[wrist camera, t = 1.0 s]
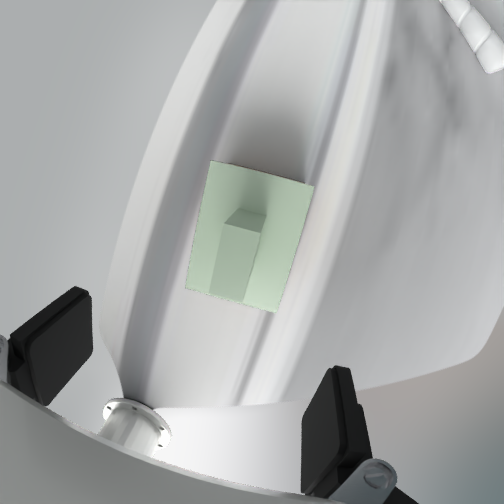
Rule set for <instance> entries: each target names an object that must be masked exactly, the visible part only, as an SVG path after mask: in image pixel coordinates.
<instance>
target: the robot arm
mask: <svg viewBox="0 0 504 504" xmlns="http://www.w3.org/2000/svg"><path fill="white" fill-rule="evenodd" d="M91 299H92V298H91V296H90V295H89V292H88V291H87V290H84V289H82V288H79V287H76V286H74V287H73V288H71V289H70V290H68V291H67V292H66V293H65V294H63V295H61V296H60V297H59V298H57V299H56V300H55V301H53V302H52V303H51V304H49V305H48V306H47V307H46V308H44V309H43V310H41V311H40V312H39V313H37V314H36V315H35V316H33V317H32V318H31V319H29V320H28V321H27V322H25V323H24V324H23V325H22V326H20V327H19V328H18V329H17V330H15V331H14V332H13V333H11V334H10V339H9V340H6V338H5V337H4V336H2V335H0V504H418V503H417V502H416V501H414V500H413V499H412V498H410V497H409V496H408V495H406V494H405V493H403V492H402V491H401V490H399V489H398V488H397V487H396V486H395V485H396V483H397V474H396V471H395V470H394V468H393V467H392V466H391V465H390V464H389V463H387V462H385V461H384V460H380V459H373V457H372V452H371V446H370V441H369V436H368V431H367V426H366V421H365V417H364V411H363V408H362V406H361V405H360V404H358V403H357V398H356V393H355V389H354V384H353V379H352V375H351V370H350V369H349V368H346V367H341V366H334V367H333V368H329V369H328V370H327V372H326V374H325V375H324V377H323V379H322V381H321V383H320V385H319V387H318V389H317V391H316V393H315V395H314V397H313V398H312V400H311V402H310V404H309V406H308V408H307V409H306V411H305V413H304V415H303V418H302V446H301V448H302V449H301V493H305V495H300V494H294V493H287V492H281V491H275V490H269V489H264V488H259V487H254V486H249V485H244V484H239V483H235V482H230V481H226V480H222V479H218V478H214V477H211V476H206V475H203V474H199V473H196V472H193V471H189V470H186V469H183V468H180V467H177V466H173V465H171V464H167V463H165V462H162V461H159V460H156V459H154V458H153V456H154V453H155V451H156V450H159V449H163V448H165V447H166V446H167V445H168V444H169V442H170V440H171V430H170V428H169V426H168V425H167V423H166V422H165V421H164V420H163V419H162V418H161V416H159V415H158V414H157V413H156V412H155V411H153V410H152V409H150V408H149V407H147V406H145V405H143V404H141V403H139V402H136V401H133V400H130V399H125V398H115V399H111V400H109V401H108V402H107V403H106V404H105V406H104V408H103V417H104V419H105V423H104V425H103V426H102V428H101V429H100V431H99V433H98V434H95V433H93V432H91V431H88V430H86V429H84V428H82V427H81V426H79V425H77V424H75V423H73V422H71V421H69V420H67V419H65V418H63V417H62V416H60V415H58V414H56V413H55V412H53V411H51V410H50V409H48V408H46V407H45V406H48V405H49V404H50V403H51V401H52V400H53V399H54V398H55V397H56V395H57V394H58V393H59V392H60V391H61V390H62V388H63V387H64V386H65V385H66V384H67V383H68V381H69V380H70V379H71V378H72V377H73V376H74V374H75V373H76V372H77V371H78V370H79V369H80V368H81V366H82V365H83V364H84V363H85V362H86V361H87V359H88V358H89V357H90V356H91V354H92V352H93V337H92V300H91Z"/></svg>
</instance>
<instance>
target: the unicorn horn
mask: <svg viewBox="0 0 504 504" xmlns="http://www.w3.org/2000/svg"><path fill="white" fill-rule="evenodd" d="M439 2H440V3H441V4H442V5H443V7H444V8H445V10H446V11H447V12H448V14H449V15H450V17H451V18H452V19H453V21H454V22H455V24H456V25H457V26H458V27H459V28H460V31H461V33H462V34H463V36H464V37H465V39H466V40H467V42H468V44H469V45H470V47H471V49H472V50H473V52H474V53H476V57H477V59H478V60H479V62H480V64H481V66H482V68H483V69H484V71H485V72H486V73H488V74H490V73H494V72H497V71H499V70H501V69H503V68H504V42H503V41H502V40H501V38H500V37H499V36H498V35H497V33H496V32H495V31H494V30H493V29H491V26H490V25H489V24H488V22H487V21H486V20H485V19H484V18H483V16H482V15H481V14H480V13H479V12H478V11H477V10H476V8H475V7H474V6H471V5H470V2H469V1H468V0H439Z"/></svg>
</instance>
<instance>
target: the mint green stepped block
mask: <svg viewBox="0 0 504 504" xmlns="http://www.w3.org/2000/svg"><path fill="white" fill-rule="evenodd" d="M313 191H314V186H312V185H308V184H305V183H301V182H298V181H294V180H290V179H287V178H283V177H279V176H275V175H272V174H268V173H264V172H260V171H256V170H252V169H248V168H244V167H240V166H235V165H231V164H227V163H223V162H218V161H214V160H211V161H210V166H209V170H208V175H207V179H206V184H205V188H204V193H203V197H202V202H201V207H200V212H199V216H198V221H197V226H196V231H195V236H194V241H193V247H192V252H191V257H190V263H189V268H188V274H187V279H186V285H185V288H187V289H190V290H194V291H197V292H200V293H204V294H207V295H211V296H214V297H218V298H221V299H225V300H228V301H232V302H236V303H239V304H243V305H247V306H250V307H254V308H258V309H262V310H265V311H269V312H273V313H277V310H278V307H279V304H280V301H281V298H282V295H283V291H284V288H285V285H286V282H287V279H288V275H289V272H290V269H291V266H292V262H293V259H294V256H295V253H296V249H297V246H298V243H299V239H300V236H301V233H302V229H303V226H304V222H305V219H306V215H307V212H308V208H309V205H310V201H311V198H312V194H313Z"/></svg>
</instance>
